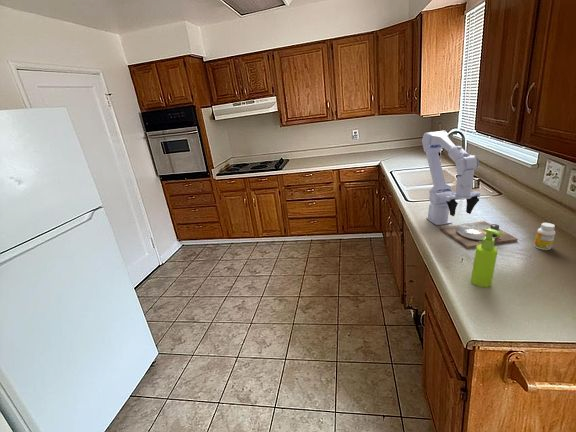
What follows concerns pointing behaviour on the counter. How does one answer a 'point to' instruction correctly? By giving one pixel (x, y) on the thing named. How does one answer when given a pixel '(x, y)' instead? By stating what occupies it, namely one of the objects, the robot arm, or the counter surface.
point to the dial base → (474, 243)
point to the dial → (475, 230)
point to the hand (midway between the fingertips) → (460, 214)
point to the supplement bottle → (545, 236)
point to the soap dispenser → (485, 259)
